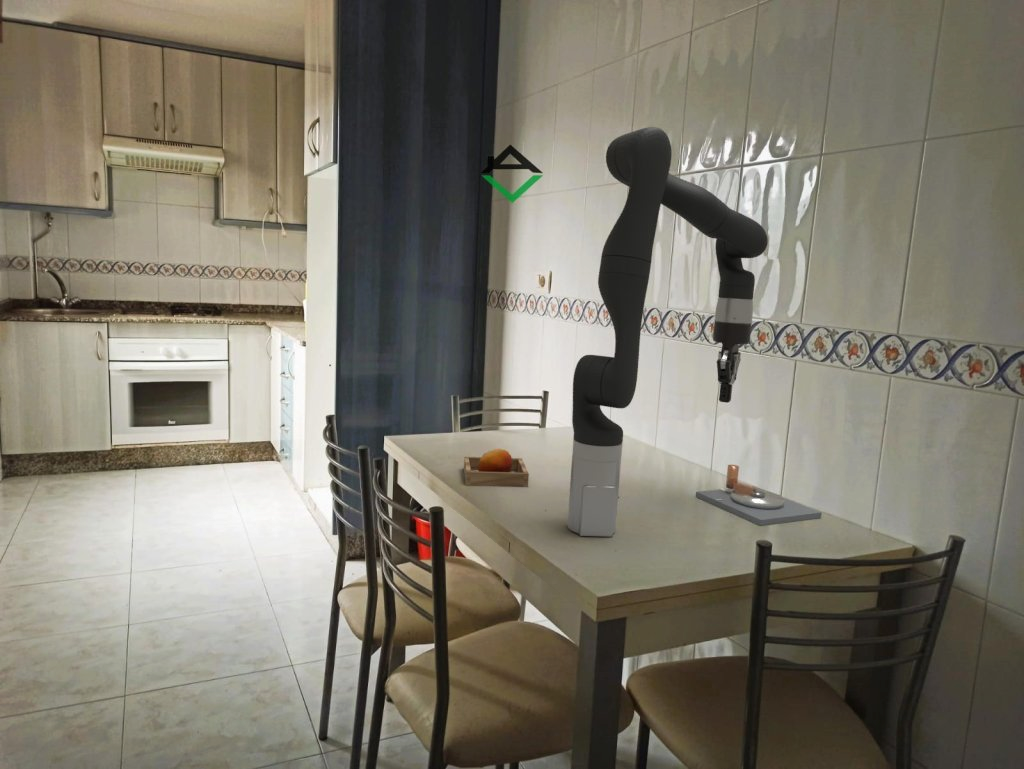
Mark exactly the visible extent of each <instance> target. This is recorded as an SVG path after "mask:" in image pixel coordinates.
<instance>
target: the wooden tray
mask: <svg viewBox="0 0 1024 769" xmlns="http://www.w3.org/2000/svg"><path fill="white" fill-rule="evenodd" d="M481 457H482V456H464V457H463V458H464V459H463V460H464V461H463V473H464V480H465V481H464V482H465V486H478V487H479V486H480V487H481V486H482V487H483V486H485V487H512V488H513V487H516V488H517V487H520V488H524V487H525V488H529V477H530V476H529V474H530V473H529V471H528V469H527V467H526V465H525V462H524V460H523V458H520V457H519V458H518V457H515V458H513V457H512V468H511V471H510V472H480V471H478V464H479V461H480V459H481Z"/></svg>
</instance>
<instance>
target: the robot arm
mask: <svg viewBox="0 0 1024 769" xmlns="http://www.w3.org/2000/svg"><path fill="white" fill-rule="evenodd" d="M605 163H606V167H607V169H608V172H609V173H610V175H611V176H612V177H613V178H614V179H615V180H616V181H618V182H620V184H622V185H625V186H627V187H629V188H628V193H627V198H626V201H625V204H624V206H623V209H622V211H621V212H620V214H619V217H618V218H617V220H616V222H615V223H614V225H613V227H612V229H611V231H610V232H609V235H608V236H607V238H606V240H605V243H604V245H603V248H602V253H601V256H600V265H599V269H598V271H599V272H598V276H597V285H598V290H599V294H600V297H601V299H602V301H603V303H604V306H605V309H606V310H607V312H608V315H609V317H610V320H611V324H612V325H613V329H614V338H615V344H614V345H615V348H614V350H615V351H614V356H613V357H612V356H606V355H598V354H597V355H596V354H586V355H583V356H582V357H580V358H579V360H578V361H577V363H576V366H575V369H574V373H573V380H572V418H571V420H572V422H571V424H572V429H573V438H572V439H573V440H572V441H573V443H572V454H571V469H570V483H569V496H568V498H569V499H568V511H567V512H568V515H567V528H568V530H570V531H572V532H574V533H576V534H578V535H579V536H581V537H613V534H615V532H616V530H617V517H618V506H619V505H618V502H619V492H620V490H619V489H620V476H621V467H622V466H621V465H622V454H623V442H624V430H623V428H622V426H620V425H619V424H618V423H616V422H615V421H613V420H611V419H610V418H609V417H608V416H606V415H605V413H604V412H603V411H602V408H601V407H607V408H613V409H626V408H627V407H628V406H630V404H631V402H632V401H633V399H634V395H635V393H636V390H637V389H636V388H637V381H638V374H639V373H638V372H639V361H640V360H639V359H640V346H641V345H640V344H641V342H640V341H641V331H642V322H643V316H644V308H645V302H646V296H647V292H648V285H649V280H650V274H651V268H652V267H651V266H652V260H653V259H652V258H653V248H654V244H655V243H654V242H655V239H656V238H655V237H656V232H657V227H658V219H659V214H660V210H661V206H662V205H663V206H664V207H665V208H667V209H668V210H671V211H672V212H673V213H675V214H676V215H678V216H680V217H681V218H682V219H684V220H685V221H686V222H688V224H690V225H691V226H693V227H694V228H695V229H697V230H698V231H699V232H700V233H701V234H703V235H705V236H706V237H707V238H710V239H714V240H715V256H716V261H717V269H718V274H719V288H718V295H717V296H718V298H717V302H716V307H715V312H714V313H715V314H714V323H713V333H712V334H713V335H712V340H713V342H715V343H720V344H722V345H721V351H718V353H717V354H718V356H717V358H718V359H717V361H716V368H717V369H716V370H717V382H718V383H719V384H720V386H719V394H718V395H719V396H718V400H719V402H721V403H730V402H731V401H732V391H733V385H734V384H735V382H736V379H737V374H738V372H739V366H740V363H741V357H742V356H741V354H742V353H741V352H740V351H739V350H740V349H739V345H749V344H750V342H751V332H752V325H753V324H752V322H753V313H754V303H753V302H754V300H753V299H754V292H755V281H756V278H755V274H754V273H753V272H751V271H749V270H748V269H744V266H743V261H742V259H754V258H757V257H760V256H761V255H762V254H763V253H764V252H765V251H766V249H767V248H768V243H769V240H768V239H769V238H768V234H767V233H766V230H765V228H764V227H763V226H762V225H761V224H760V223H759V222H758V221H756V220H754V219H752V218H750V217H749V216H746V215H745V214H743V213H741V212H739V211H736V210H734V209H731V208H730V207H729V206H728V205H727V204H725V202H723V201H722V200H721V199H720V198H718V197H717V196H716V195H714V193H712V192H711V191H709V190H708V189H706V188H704V187H702V186H701V185H698V184H695V183H694V182H693V183H692V182H690V181H687V180H685V179H682V178H680V177H678V176H675V175H674V174H672V173H670V168H671V164H672V144H671V142H670V138H669V136H668V135H667V133H666V132H665V130H663V128H660V127H657V126H648V127H645V128H644V127H643V128H639V129H636V130H634V131H630V132H628V133H625V134H622V135H620V136H617V137H616V138H614V139H613V140H612V141H611V142H610V143H609V145H608V147H607V149H606V154H605Z"/></svg>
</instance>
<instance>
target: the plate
mask: <svg viewBox="0 0 1024 769" xmlns="http://www.w3.org/2000/svg"><path fill="white" fill-rule="evenodd" d="M751 486H752V487H756V489H757V490H764V489H762V488H759V487H757V486H754V485H751ZM733 490H734V489H729V488H719V489H718V488H717V489H710V490H708V489H707V490H700V491H696V492H695V497H696V498H698V499H700V500H702V501H703V502H706V503H709V504H710V505H713V506H715V507H717V508H720V509H722V510H724V511H727V512H729V513H731V514H733V515H736V516H738V517H740V518H741V519H744V520H747V521H749V522H751V523H753V524H755V525H757V526H761V527H762V526H769V525H778V524H783V523H790V522H791V523H793V522H800V521H807V520H814V519H815V518H816V519H821V518H822V511H819V510H816V509H814V508H812V507H809V506H806V505H803V504H802V503H798V502H795V501H794V500H790V499H788V498H785V497H783V498H784V506H783V507H782V508H779V509H758V508H752V507H747V506H743V505H740V504H738V503H736V502H734V501H732V499H731V492H732V491H733ZM764 491H766V490H764ZM820 517H821V518H820Z"/></svg>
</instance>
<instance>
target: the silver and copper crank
mask: <svg viewBox="0 0 1024 769" xmlns="http://www.w3.org/2000/svg"><path fill="white" fill-rule="evenodd" d="M739 468H740V466H739V465H736V464H727V469H726V481H725V489H734V490H733V491H732V492H731V499H732V501H734V502H736V503H738V504H740V505H743V506H747V507H752V508H758V509H779V508H782V507H783V506H784V498H785V497H784V496H782V495H779V494H777V493H774V492H771V491H768V490H765V491H764V489H762V490H757V489H756V487H757V486H755V487H752V486H753V485H748V484H745V483H743V482H739V481H738V480H739V470H740V469H739Z"/></svg>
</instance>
